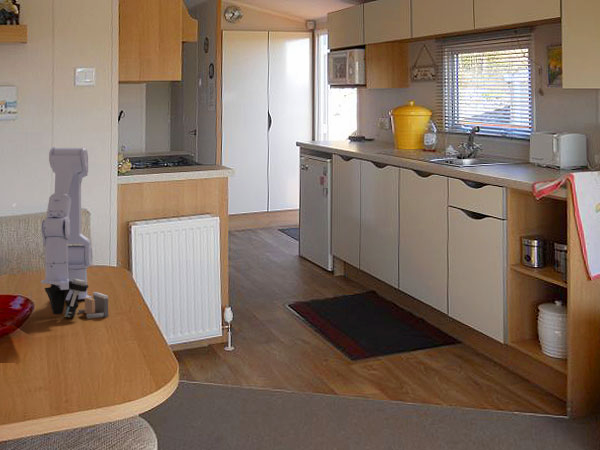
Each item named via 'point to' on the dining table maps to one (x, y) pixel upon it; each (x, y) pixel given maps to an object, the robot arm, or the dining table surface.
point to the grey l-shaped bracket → (98, 306)
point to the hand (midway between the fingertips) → (57, 313)
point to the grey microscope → (75, 296)
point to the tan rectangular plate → (89, 305)
